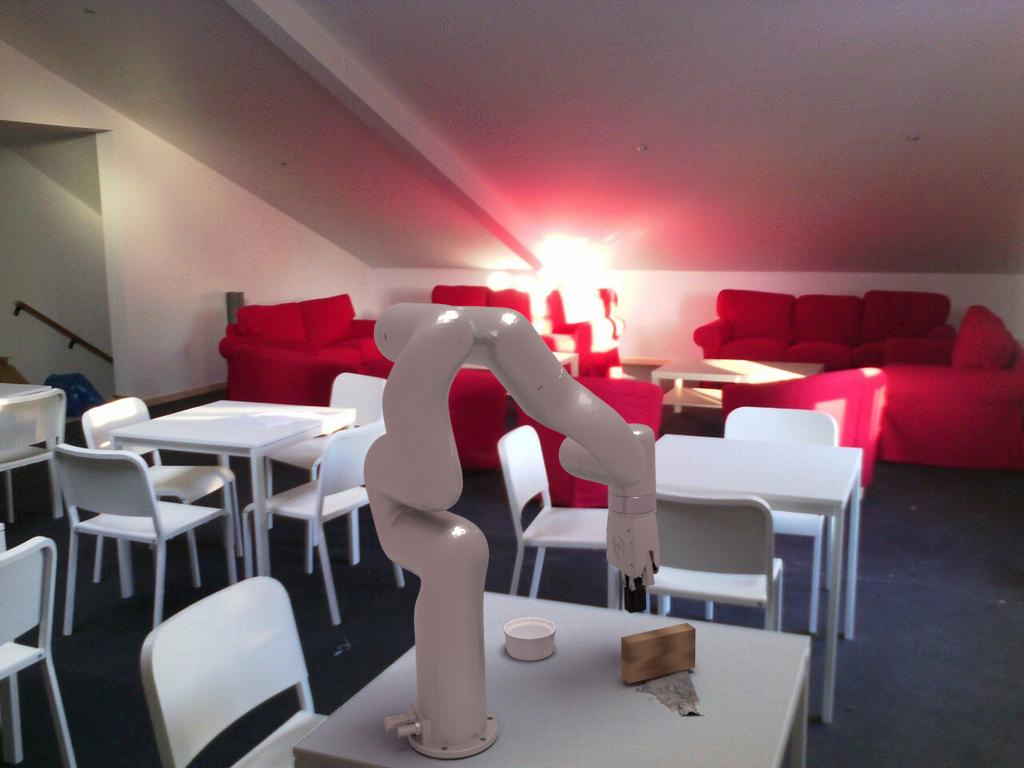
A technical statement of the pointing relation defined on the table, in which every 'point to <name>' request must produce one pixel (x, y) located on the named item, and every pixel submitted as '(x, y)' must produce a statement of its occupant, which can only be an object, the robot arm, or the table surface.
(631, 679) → the brown wooden block
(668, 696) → the stone slab
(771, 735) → the table surface
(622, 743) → the table surface
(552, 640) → the ramekin
